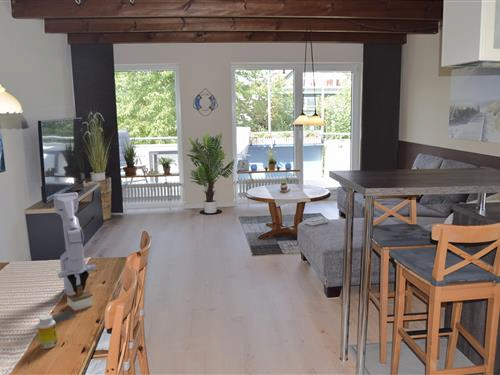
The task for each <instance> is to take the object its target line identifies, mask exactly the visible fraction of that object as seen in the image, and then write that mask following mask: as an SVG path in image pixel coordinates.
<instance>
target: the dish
mask: <svg viewBox="0 0 500 375" xmlns="http://www.w3.org/2000/svg"><path fill="white" fill-rule="evenodd" d="M66 299H67V300H66V301H67V306H68V307H69V308H70V309H72V311H74V312H76V311H79V310H82V309H87V308H89V307H92V306H94V302H93V296H91V297H87V298H84V299H80V300H76V301H72V300H71V299H70V298H69V297H67V296H66Z"/></svg>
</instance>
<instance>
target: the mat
mask: <svg viewBox="0 0 500 375" xmlns="http://www.w3.org/2000/svg"><path fill="white" fill-rule="evenodd" d="M51 315H52V318H53V320H54V321H55V323H56V324H57V323H61V322H64V321H67V320H70V319H73V318H77V316H76V314H74V313H73V312H72V311H71V310H65V311H62V312H59V313H58V312H57V313H55V314H51Z"/></svg>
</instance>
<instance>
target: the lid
mask: <svg viewBox="0 0 500 375" xmlns="http://www.w3.org/2000/svg"><path fill="white" fill-rule="evenodd" d="M76 286H77V292H76V293H75V292H72V293H68V294H66V293H65V294H66V298H67V297H69V298H70V299H71V300H72V301H76V300H80V299H84V298H87V297H91V296H92V297H93V293H92V292H91V291H89V290H88V289H86V288H85V290H83V285H81V284H79V285H76Z"/></svg>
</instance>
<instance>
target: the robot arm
mask: <svg viewBox="0 0 500 375" xmlns="http://www.w3.org/2000/svg"><path fill="white" fill-rule="evenodd" d="M79 202H80V200H79V194H78V192H76V191H75V192H68V193H67V192H65V193H58V194H56V193H54V195H53V205H54V210H55V214H57V215H60V217H61V220H62V226H63V227H62V229H63V235H64V236H63V237H64V243H65V250H66V251H64V253H62V254H61V255H60V270H61V271H59V272H58V273H57V277H58V279H63V289H62V290H61V291H62V292H63V291H64V292H63V293H64V294H68V293H72V292H75V293H76V292H77V286H76V285H79V284H81V285H83V290H85V289H86V284H87V280H88V278H89V277H90V276H89V275H90V273H89V272H90V271H96V270H97V268H96V265H95V264H88V265H86V259H85V255H84V246H83V243H84V239H85V238H84V237H85V236H84V231H83V229H82V227H81V226H80V222H79V218H78V217H77V216H75V214H76V213H77V212H78V211H79V210H78V209H79Z"/></svg>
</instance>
